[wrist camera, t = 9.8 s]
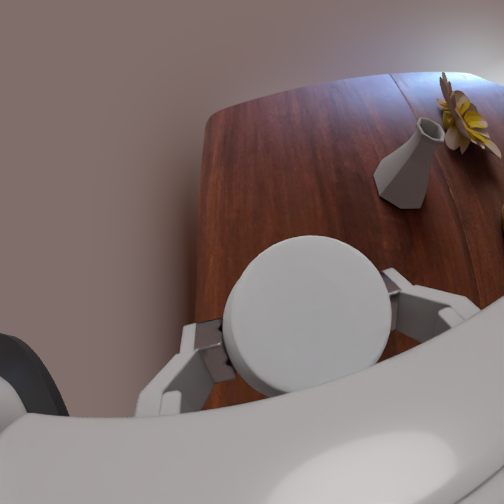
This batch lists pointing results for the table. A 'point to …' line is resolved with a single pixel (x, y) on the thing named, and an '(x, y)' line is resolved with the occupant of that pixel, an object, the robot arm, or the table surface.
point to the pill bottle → (306, 315)
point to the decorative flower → (463, 121)
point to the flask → (409, 167)
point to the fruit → (503, 217)
